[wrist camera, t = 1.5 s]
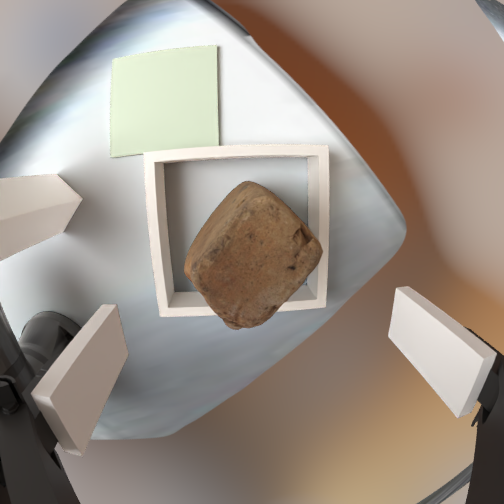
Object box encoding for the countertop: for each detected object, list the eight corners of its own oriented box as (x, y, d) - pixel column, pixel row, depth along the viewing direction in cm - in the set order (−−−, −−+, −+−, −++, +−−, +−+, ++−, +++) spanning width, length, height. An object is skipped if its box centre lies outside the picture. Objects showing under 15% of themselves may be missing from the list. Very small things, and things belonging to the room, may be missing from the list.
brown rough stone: (245, 174, 36) (264, 174, 17) (288, 214, 38) (348, 256, 19) (188, 238, 38) (150, 303, 19) (231, 275, 40) (236, 366, 20)
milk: (56, 173, 34) (-62, 184, 13) (84, 199, 35) (-32, 229, 14) (37, 207, 35) (-75, 241, 14) (63, 233, 36) (-46, 286, 15)
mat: (112, 157, 34) (110, 157, 34) (114, 60, 31) (112, 59, 30) (219, 147, 35) (218, 146, 35) (216, 46, 32) (216, 44, 31)
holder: (167, 300, 40) (160, 316, 35) (154, 154, 35) (143, 152, 30) (315, 292, 41) (325, 307, 36) (316, 148, 36) (328, 145, 31)
